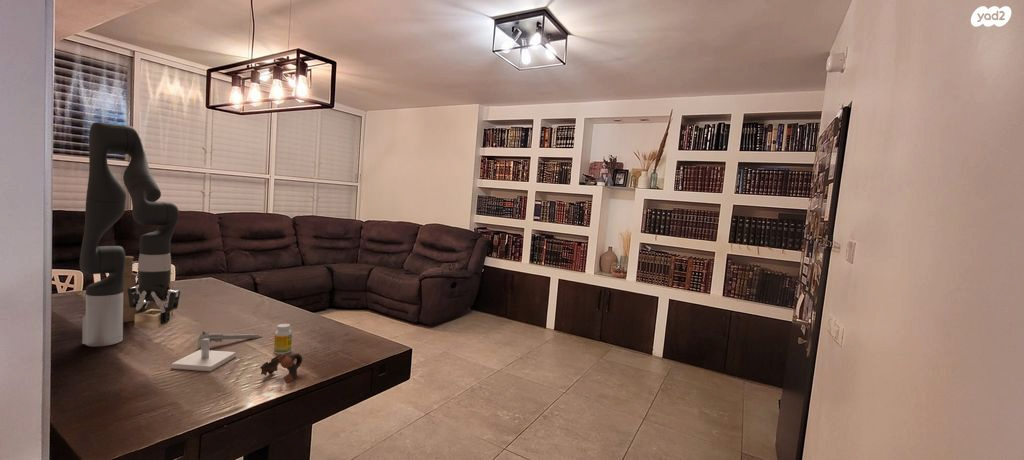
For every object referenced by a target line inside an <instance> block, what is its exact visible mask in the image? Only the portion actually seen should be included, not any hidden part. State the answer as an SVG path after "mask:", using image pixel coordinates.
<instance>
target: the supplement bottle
mask: <svg viewBox="0 0 1024 460" xmlns="http://www.w3.org/2000/svg"><path fill="white" fill-rule="evenodd" d="M276 329H277V330H276V331H275V332H274V345H273V353H275V354H277V355H281V354H285V355H286V354H289V353H290V352H291V351H292V341H293V339H292V337H293V332H292V330H291V324H289V323H281V324H280V323H279V324H277V326H276Z"/></svg>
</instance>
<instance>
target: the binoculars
mask: <svg viewBox="0 0 1024 460" xmlns="http://www.w3.org/2000/svg"><path fill="white" fill-rule="evenodd" d="M125 257H126V259H125V271H124V288H123V323H128V322H134V321H135V314H137V310H136V308H131V307H130V305H129V297H128V288H132V287H136V286H137V284H138V283H137V280H136V278H137V279H138V273H134V272H133V265H134V264H138V261H137V260H136V261H134V259H135V257H134V256H131V255H125ZM172 274H173V272H171V275H172ZM137 287H138V286H137ZM169 288H170V290H172V282H171V281H170V283H169ZM167 296H169V294H168V295H167ZM168 298H169V297H168ZM134 302H135V299H134ZM162 302H164V300H162ZM164 306H165V305H164ZM165 308H166V307H165ZM145 309H147V310H150V309H159V310H161V309H160V307H159V306H157V304H156V302H152V301H150V302H149V303H148V305H147V307H146V308H145ZM173 315H174V310H172V311H171V317H172V316H173Z"/></svg>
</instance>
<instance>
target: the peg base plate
mask: <svg viewBox="0 0 1024 460" xmlns="http://www.w3.org/2000/svg"><path fill="white" fill-rule="evenodd" d="M209 340H210V339H208V338H206V339H202V346H201V349H198V350H196V351H193V352H192V353H191V354H190V353H189V354H188V355H186V356H185V357H182V358H180V359H177V360H176V361H174V362H172V363H171V366H170V367H171V369H175V370H189V371H190V370H192V371H201V372H202V371H203V372H205V371H206V372H212V371H213V370H216V369H217V368H219V367H220V366H222V365H224V364H225V363H227V362H230V361H231V360H232V359H234V358H236V357H237V352H235V351H226V350H225V351H223V350H212V349H211V350H210V344H209Z"/></svg>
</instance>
